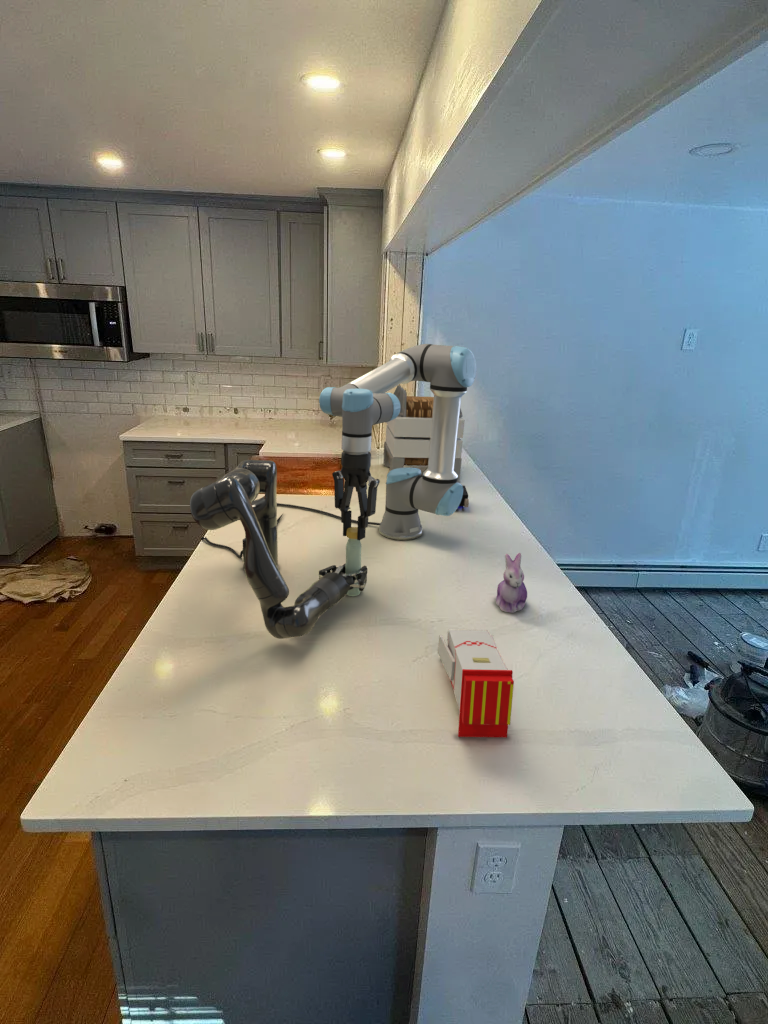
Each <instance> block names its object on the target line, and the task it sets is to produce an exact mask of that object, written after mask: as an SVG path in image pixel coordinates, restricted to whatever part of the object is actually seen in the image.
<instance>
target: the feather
mask: <svg viewBox="0 0 768 1024" xmlns="http://www.w3.org/2000/svg"><path fill="white" fill-rule="evenodd" d="M283 515H284V513H282V514H281V515H280V516H279V517H277V525H279V522H280V520H281V519H282V517H283Z"/></svg>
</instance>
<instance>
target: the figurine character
mask: <svg viewBox="0 0 768 1024" xmlns="http://www.w3.org/2000/svg"><path fill="white" fill-rule="evenodd" d="M462 486H463V496H462V499H461V502H460V504H459V506H458V508H457V509H456V511H455V512H457V511H458V509H461V511H462V512H464V511H465V508H469V505H470V500H469V492H468V490H467V488H466V485H464V484H462Z"/></svg>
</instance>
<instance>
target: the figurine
mask: <svg viewBox="0 0 768 1024" xmlns="http://www.w3.org/2000/svg"><path fill="white" fill-rule="evenodd" d="M511 557H512V556H511V555H509V553H505V555H504V559H505V560H504V561H505V569H504V571H503V580H502V581H500V582H499V583H498V585H497V589H496V597H495V603H496V606H497V607H499V609H500V610H501V611H502V612H505V613H512V614H513V613H517V612H519V611H522V610H523V609H524V608H525V605H526V602H527V599H528V590H527V586H526V584H525V582H524V580H525V574H524V571H523V569H522V567H521V562H522V561H521V560H522V553H521V552H518V553H516V554H515V557H514V559H512V558H511Z"/></svg>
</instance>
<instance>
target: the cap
mask: <svg viewBox="0 0 768 1024" xmlns="http://www.w3.org/2000/svg"><path fill="white" fill-rule="evenodd" d="M357 531H358V526H351V527H350V528H348V529H347V532H346V536H345V537H347V539H349V538H350V539H357Z"/></svg>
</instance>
